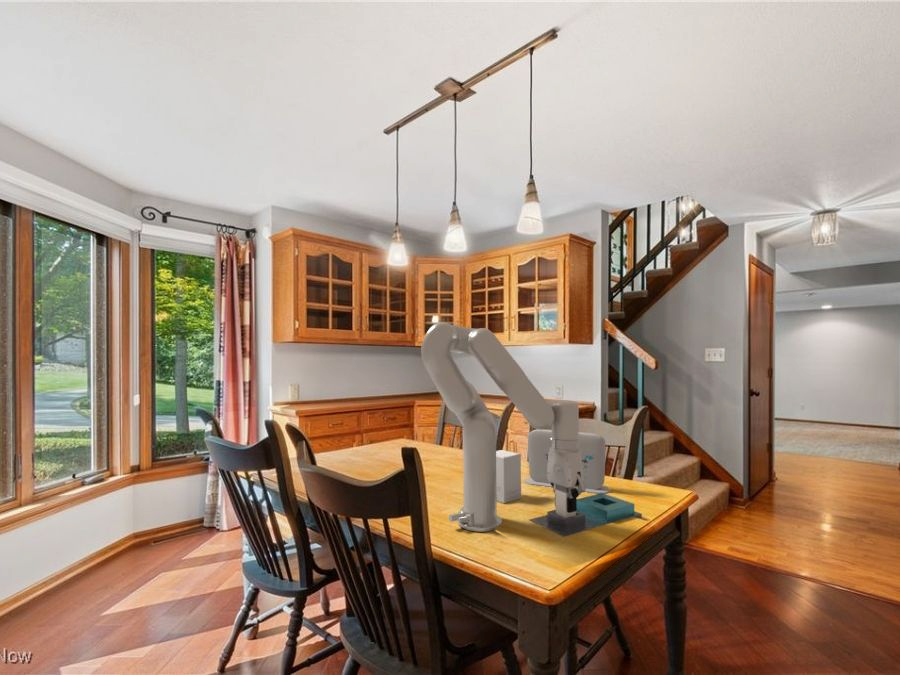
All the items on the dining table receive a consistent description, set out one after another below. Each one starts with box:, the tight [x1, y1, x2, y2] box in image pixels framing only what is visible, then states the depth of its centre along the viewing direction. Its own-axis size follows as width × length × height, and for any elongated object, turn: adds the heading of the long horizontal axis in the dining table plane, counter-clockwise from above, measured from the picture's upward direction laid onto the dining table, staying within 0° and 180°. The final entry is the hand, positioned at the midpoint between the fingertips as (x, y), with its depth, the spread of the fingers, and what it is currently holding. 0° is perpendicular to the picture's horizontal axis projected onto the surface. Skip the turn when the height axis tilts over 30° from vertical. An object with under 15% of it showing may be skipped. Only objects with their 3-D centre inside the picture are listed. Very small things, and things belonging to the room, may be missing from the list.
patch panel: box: [528, 493, 643, 537], centre depth 134 cm, size 32×14×4 cm, turn 121°
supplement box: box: [496, 449, 522, 504], centre depth 154 cm, size 9×9×15 cm
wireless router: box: [523, 429, 611, 495], centre depth 168 cm, size 31×10×20 cm, turn 62°
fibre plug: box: [554, 484, 576, 518], centre depth 130 cm, size 4×4×14 cm
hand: (565, 508), depth 130 cm, fingers closed on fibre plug, 4 cm apart
